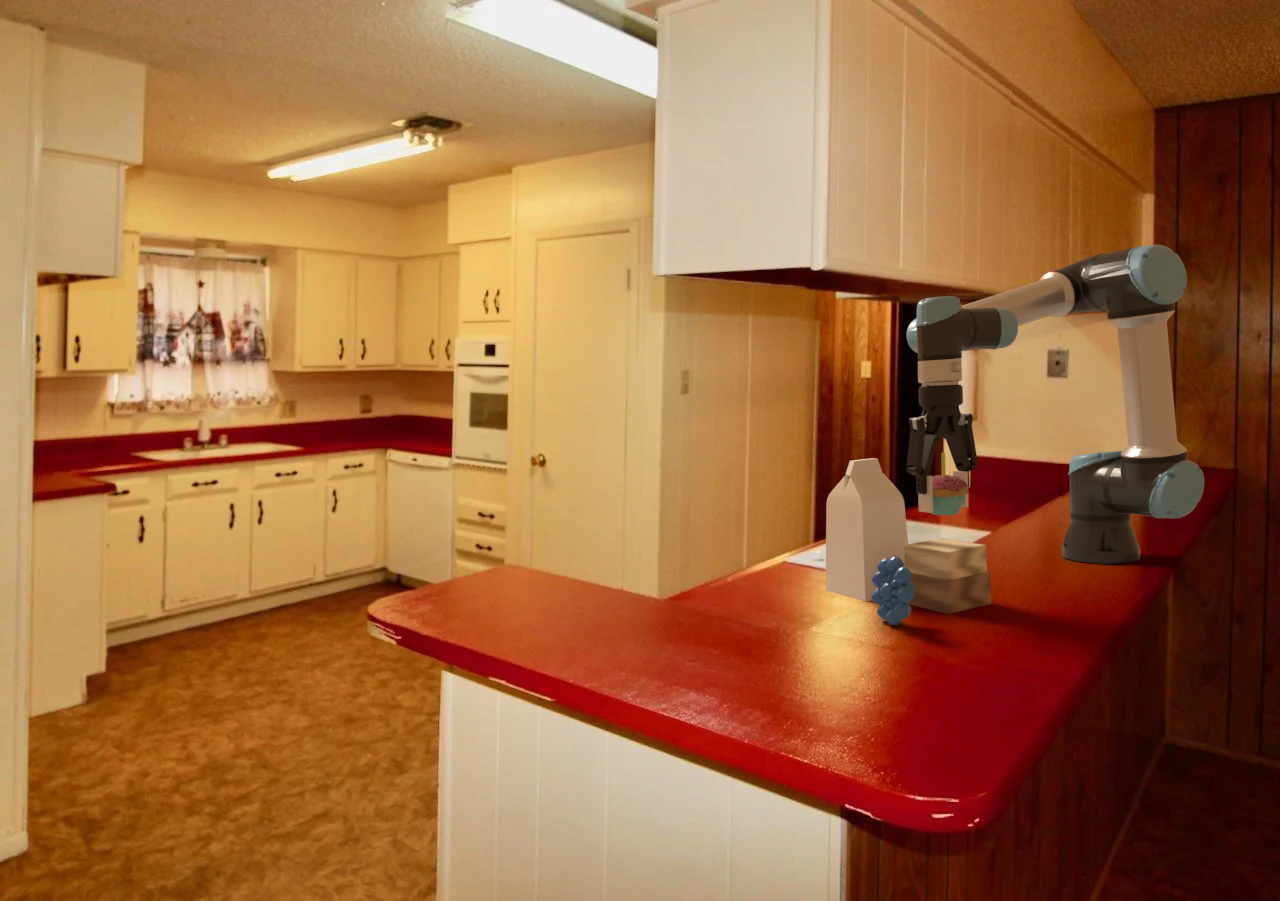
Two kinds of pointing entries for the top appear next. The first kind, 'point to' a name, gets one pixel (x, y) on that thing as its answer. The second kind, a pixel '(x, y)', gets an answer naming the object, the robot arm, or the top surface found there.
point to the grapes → (893, 590)
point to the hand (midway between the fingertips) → (943, 509)
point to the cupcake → (947, 492)
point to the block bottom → (951, 593)
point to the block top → (945, 559)
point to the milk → (862, 529)
